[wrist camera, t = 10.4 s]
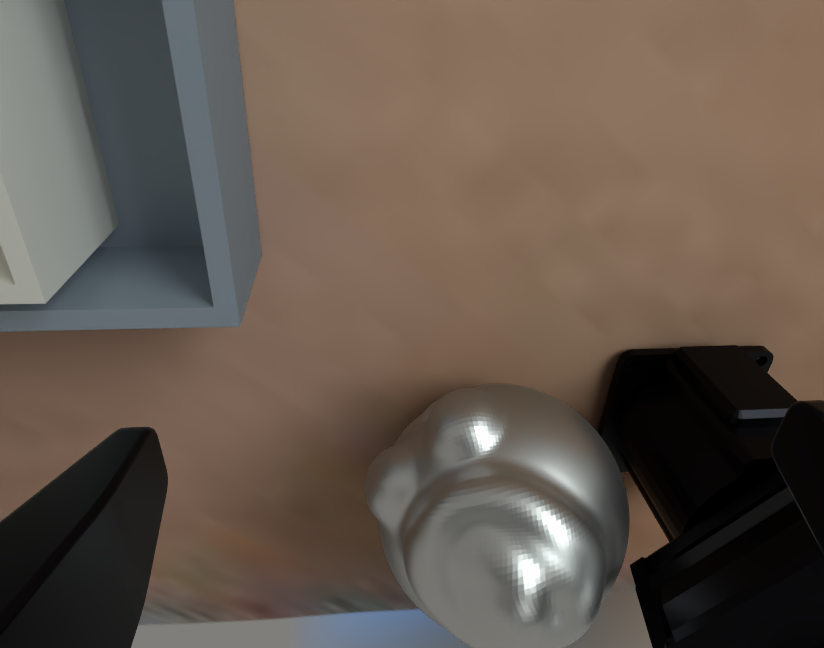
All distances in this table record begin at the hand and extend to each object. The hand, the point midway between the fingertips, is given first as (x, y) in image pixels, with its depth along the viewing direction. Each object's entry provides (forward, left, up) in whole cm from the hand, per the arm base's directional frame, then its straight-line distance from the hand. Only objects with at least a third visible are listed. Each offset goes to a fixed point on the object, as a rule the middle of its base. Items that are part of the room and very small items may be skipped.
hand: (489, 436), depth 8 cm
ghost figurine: (-10, -3, -12) cm, 16 cm away
